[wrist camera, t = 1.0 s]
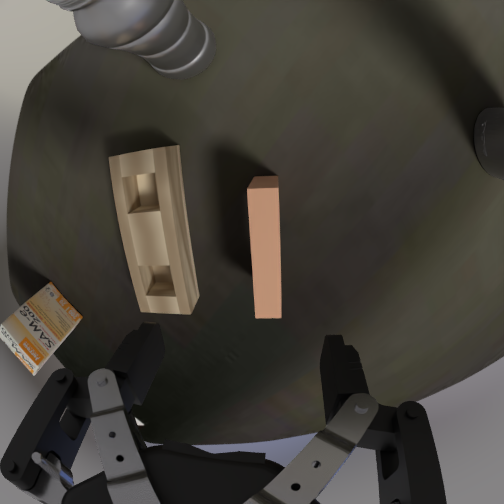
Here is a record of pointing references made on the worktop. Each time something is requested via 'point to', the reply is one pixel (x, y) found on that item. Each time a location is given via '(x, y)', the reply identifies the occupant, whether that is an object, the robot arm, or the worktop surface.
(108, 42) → the metal bottle
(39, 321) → the supplement box
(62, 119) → the worktop surface
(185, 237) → the rail
